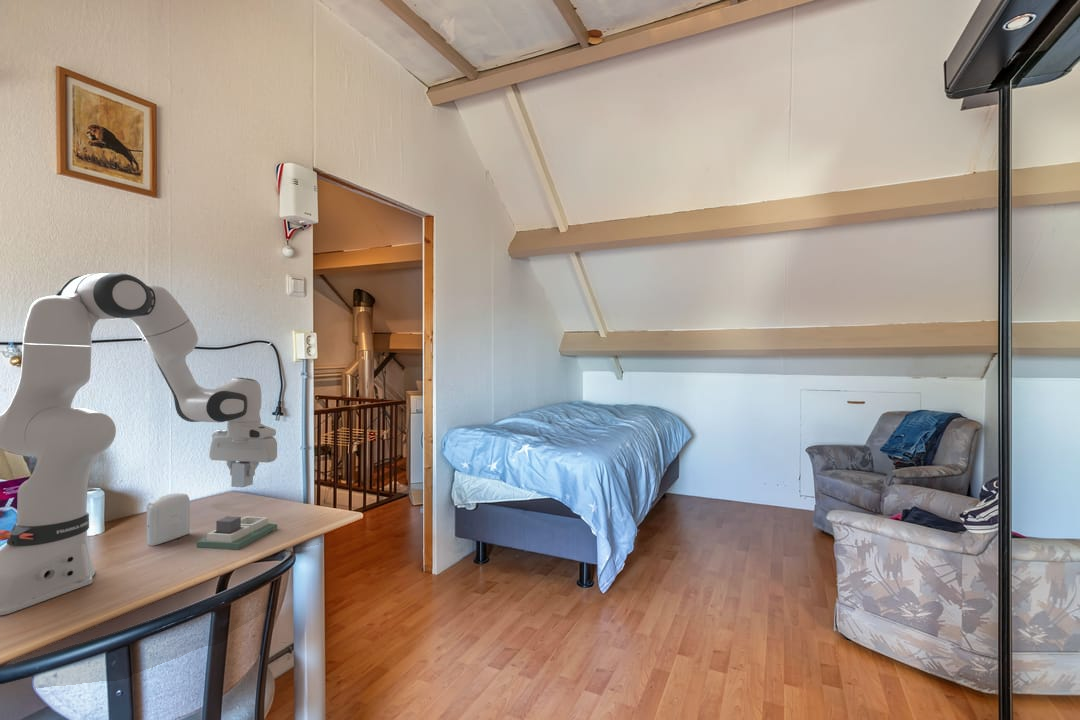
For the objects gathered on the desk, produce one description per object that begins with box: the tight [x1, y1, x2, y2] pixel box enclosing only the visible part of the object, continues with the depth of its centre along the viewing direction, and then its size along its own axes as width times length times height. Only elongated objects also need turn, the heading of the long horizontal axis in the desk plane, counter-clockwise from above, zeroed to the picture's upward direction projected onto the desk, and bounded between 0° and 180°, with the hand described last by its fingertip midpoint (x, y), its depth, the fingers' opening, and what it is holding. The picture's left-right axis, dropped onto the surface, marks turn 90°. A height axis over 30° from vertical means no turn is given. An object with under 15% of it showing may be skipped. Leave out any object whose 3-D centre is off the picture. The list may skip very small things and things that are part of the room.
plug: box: [230, 461, 254, 488], centre depth 150 cm, size 4×4×8 cm
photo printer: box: [146, 492, 191, 547], centre depth 136 cm, size 10×4×12 cm, turn 162°
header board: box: [196, 515, 278, 551], centre depth 138 cm, size 16×12×6 cm
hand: (242, 475), depth 150 cm, fingers closed on plug, 4 cm apart
